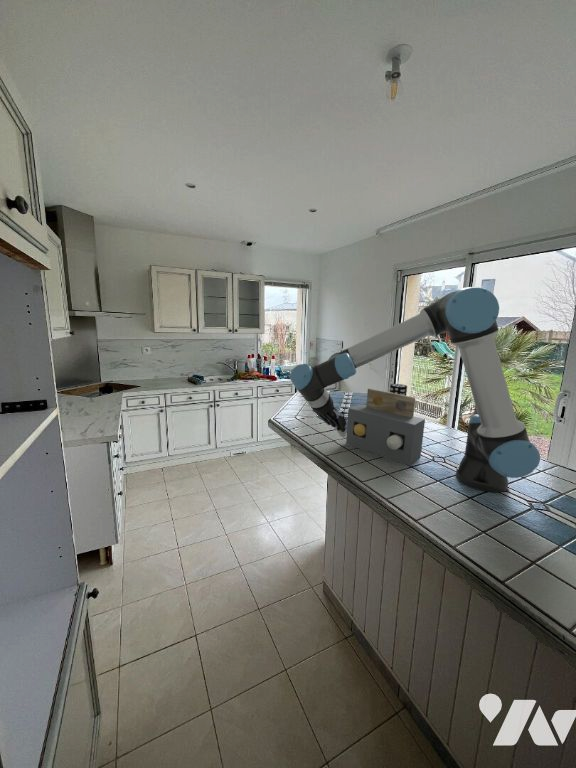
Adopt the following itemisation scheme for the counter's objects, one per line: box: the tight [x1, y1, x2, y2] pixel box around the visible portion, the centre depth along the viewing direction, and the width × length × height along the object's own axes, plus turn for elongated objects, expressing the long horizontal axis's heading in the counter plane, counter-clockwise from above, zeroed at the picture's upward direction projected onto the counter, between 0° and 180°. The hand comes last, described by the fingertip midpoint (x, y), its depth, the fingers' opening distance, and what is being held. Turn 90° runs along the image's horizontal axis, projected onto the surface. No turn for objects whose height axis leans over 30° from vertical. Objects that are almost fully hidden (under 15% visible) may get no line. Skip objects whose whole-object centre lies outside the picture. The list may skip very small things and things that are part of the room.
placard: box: [365, 388, 416, 418], centre depth 127 cm, size 1×20×8 cm, turn 46°
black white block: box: [389, 383, 408, 396], centre depth 163 cm, size 8×8×20 cm
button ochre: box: [354, 423, 367, 436], centre depth 130 cm, size 4×5×5 cm
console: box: [345, 403, 426, 467], centre depth 127 cm, size 10×28×16 cm, turn 46°
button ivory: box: [387, 434, 404, 450], centre depth 117 cm, size 4×5×5 cm
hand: (344, 434), depth 121 cm, fingers closed
